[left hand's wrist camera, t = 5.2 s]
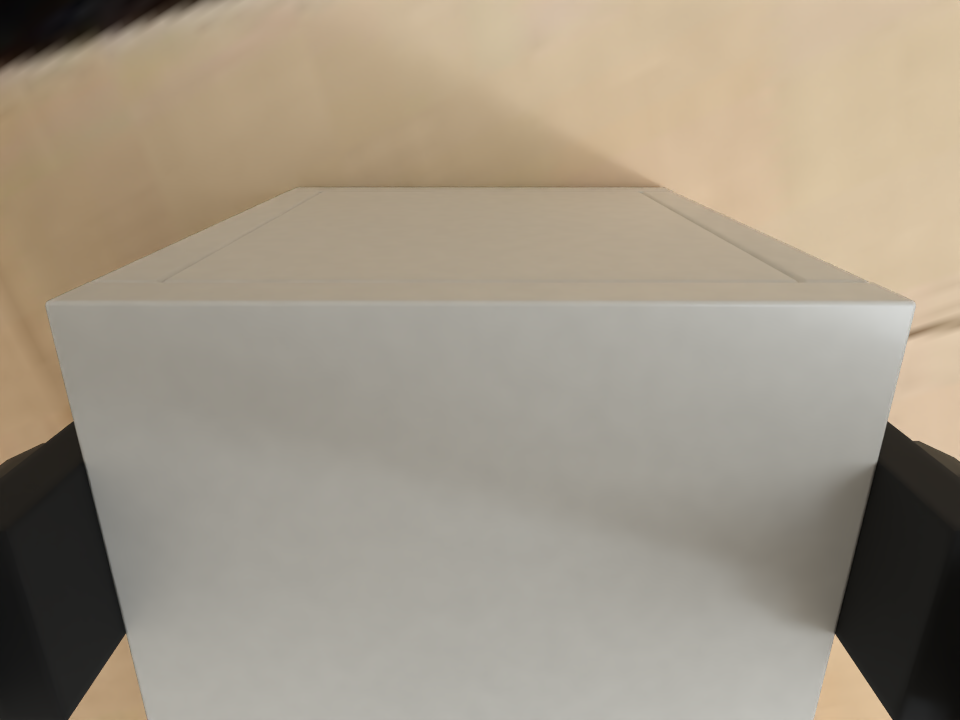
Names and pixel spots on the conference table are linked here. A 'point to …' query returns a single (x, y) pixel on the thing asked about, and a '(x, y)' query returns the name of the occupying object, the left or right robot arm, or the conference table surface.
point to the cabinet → (480, 456)
